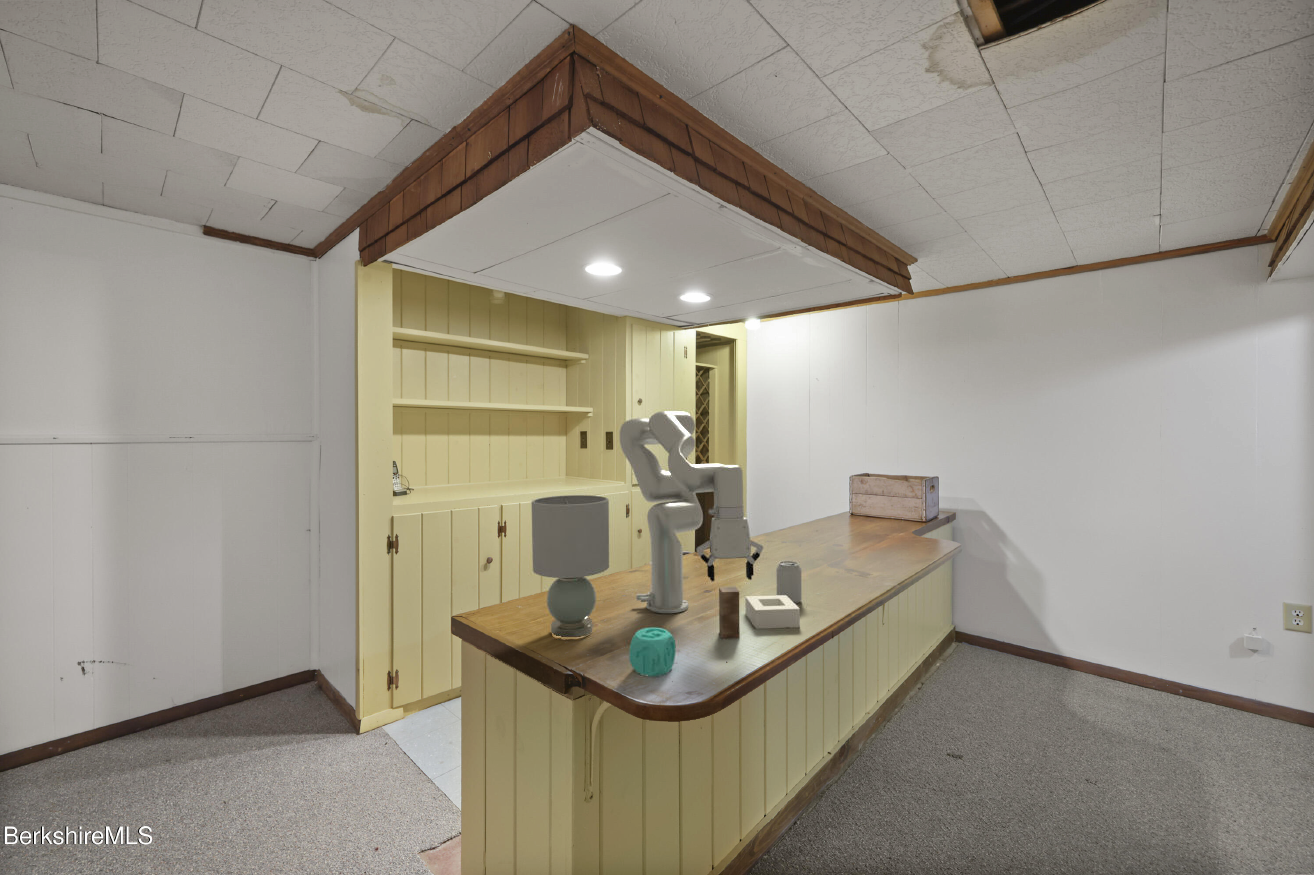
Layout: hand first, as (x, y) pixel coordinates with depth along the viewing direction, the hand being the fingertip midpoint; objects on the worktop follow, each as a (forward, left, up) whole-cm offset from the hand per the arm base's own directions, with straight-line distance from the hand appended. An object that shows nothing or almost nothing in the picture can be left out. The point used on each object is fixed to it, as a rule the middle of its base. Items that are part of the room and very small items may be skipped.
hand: (730, 579), depth 142 cm
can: (+24, +27, -15) cm, 39 cm away
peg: (0, +1, -15) cm, 15 cm away
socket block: (+14, +11, -15) cm, 23 cm away
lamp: (-41, +7, -15) cm, 44 cm away
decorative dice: (-21, -17, -15) cm, 31 cm away
